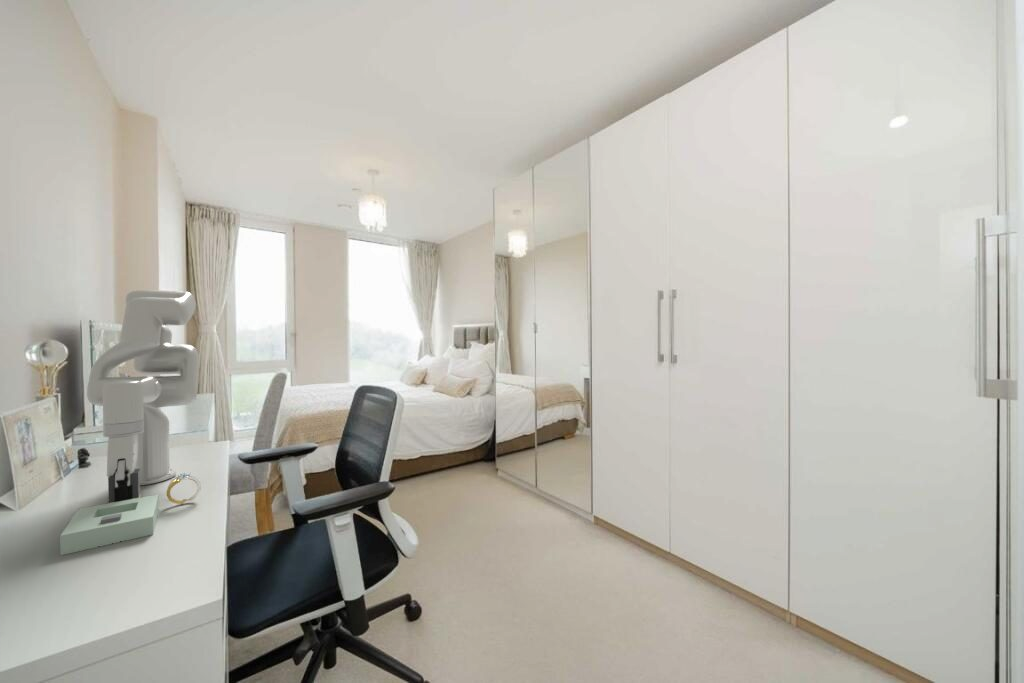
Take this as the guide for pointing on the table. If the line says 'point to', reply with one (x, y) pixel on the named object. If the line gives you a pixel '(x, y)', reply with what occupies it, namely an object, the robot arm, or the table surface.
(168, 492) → the ring
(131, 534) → the socket
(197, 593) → the table surface
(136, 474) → the plug
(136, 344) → the robot arm
